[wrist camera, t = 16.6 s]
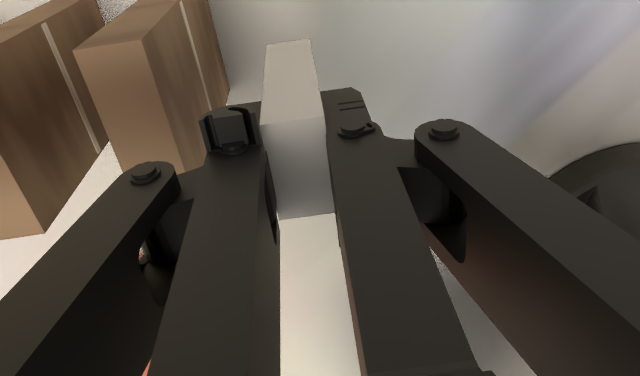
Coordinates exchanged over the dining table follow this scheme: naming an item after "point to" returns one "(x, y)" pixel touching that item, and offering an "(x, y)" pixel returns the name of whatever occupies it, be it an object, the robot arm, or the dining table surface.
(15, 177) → the domino
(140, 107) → the domino
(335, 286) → the dining table surface
